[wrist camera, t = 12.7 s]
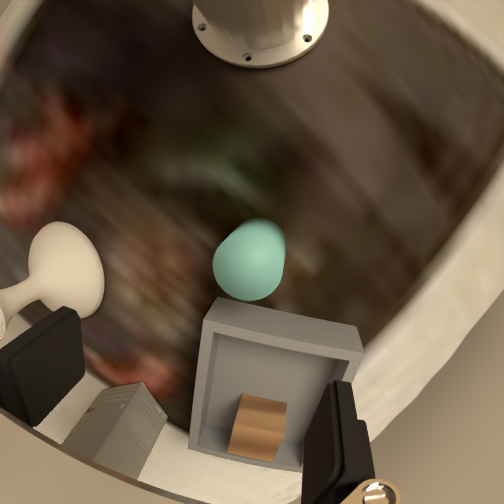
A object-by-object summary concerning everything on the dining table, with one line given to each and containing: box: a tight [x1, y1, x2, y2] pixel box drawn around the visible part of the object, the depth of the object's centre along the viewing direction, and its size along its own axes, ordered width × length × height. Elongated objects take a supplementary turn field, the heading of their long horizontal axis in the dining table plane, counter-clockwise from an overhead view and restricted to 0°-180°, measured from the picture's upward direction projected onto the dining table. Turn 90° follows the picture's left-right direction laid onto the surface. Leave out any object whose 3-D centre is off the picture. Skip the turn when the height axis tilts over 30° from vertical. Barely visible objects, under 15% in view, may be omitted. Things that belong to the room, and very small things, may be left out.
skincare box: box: [62, 382, 168, 480], centre depth 30 cm, size 8×7×16 cm
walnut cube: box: [227, 394, 287, 462], centre depth 31 cm, size 5×5×5 cm
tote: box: [188, 297, 364, 473], centre depth 31 cm, size 18×14×5 cm
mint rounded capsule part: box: [213, 218, 286, 301], centre depth 26 cm, size 5×5×7 cm
